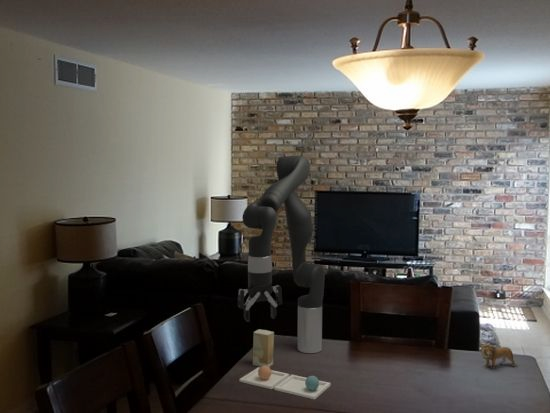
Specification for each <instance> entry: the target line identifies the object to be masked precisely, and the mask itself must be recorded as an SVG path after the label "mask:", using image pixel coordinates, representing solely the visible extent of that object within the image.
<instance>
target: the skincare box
mask: <svg viewBox="0 0 550 413" xmlns="http://www.w3.org/2000/svg"><path fill="white" fill-rule="evenodd" d="M252 340H253V344H252V365H253V366H257V367H261V366H264V365H265V366H268V367H269V368H271V366H273V365H274V345H275V344H274V342H275V332H274V331H270V330H267V329H260V328H259V329H256V330H255V331H253V338H252Z"/></svg>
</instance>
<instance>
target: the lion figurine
mask: <svg viewBox="0 0 550 413" xmlns="http://www.w3.org/2000/svg"><path fill="white" fill-rule="evenodd" d="M480 352H481V356H482V358H484V359H485V361H486V362H485V365H484V366H485V367H486V368H487V367H489V366H490V361H491V367H490V369H491V370H495V368H496V360H499V359H502V361H499V365H501V364H502V365H504V364H505V362H506V360H509V361H510V362H511V364H510V366H511V367H512V366H513V367H512V368H514V367H515V365H516V364H515V362H516V361H515V359H514V354H513V351H512V349H511V348H509V347H506V346H503V347H500V348H496V347H495V346H494V345H491V344H490V343H483V344H482V345H481V348H480ZM506 358H507V359H506Z"/></svg>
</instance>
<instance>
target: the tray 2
mask: <svg viewBox="0 0 550 413" xmlns="http://www.w3.org/2000/svg"><path fill="white" fill-rule="evenodd" d="M307 378H308V377H304V376H300V375H296V374H290V375H289V377H288V378H286V379H285V380H284V381H282V382H281V383H280V384H278V385H277V386H275V387H274V388H273V390H274V391H277V392H280V393H286V394H289V395H294V396H297V397H303V398H306V399H311V400H316V399H317V398H319V397H320V396H321V395H322V394H323V393H324V392H325V391H326V390H328V389H329V388H330V387H331V385H332V384H331V382H329V381H328V382H327V381H323V380H319V386H318V388H317V389H316V390H309V389H308V388H307V387H306V385H305V381H306V379H307Z"/></svg>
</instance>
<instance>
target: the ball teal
mask: <svg viewBox="0 0 550 413" xmlns="http://www.w3.org/2000/svg"><path fill="white" fill-rule="evenodd" d="M306 378H307V379H306V381H305V385H306V387H307V388H308V389H309V390H316V389H317V388H318V386H319V381H320V380H319V378H318V377H317V376H315V375H309V376H308V377H306Z"/></svg>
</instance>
